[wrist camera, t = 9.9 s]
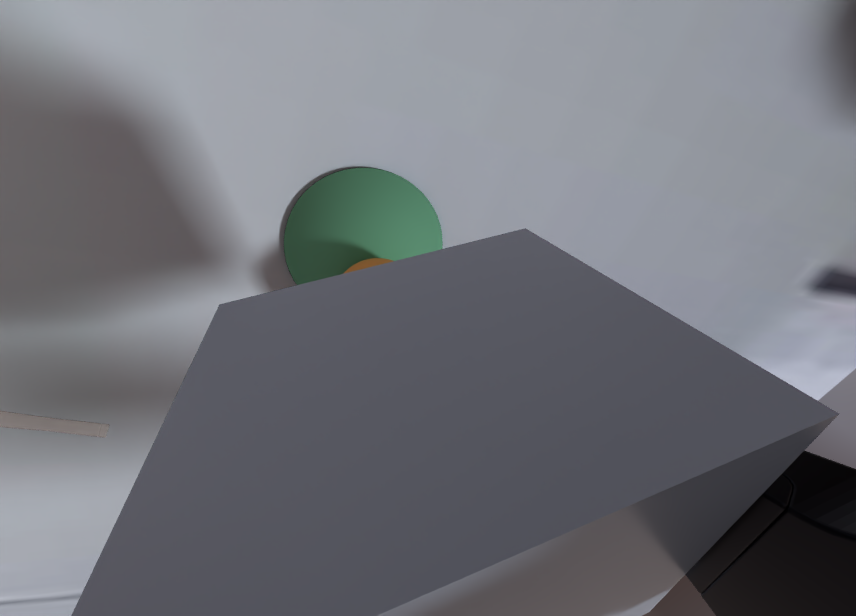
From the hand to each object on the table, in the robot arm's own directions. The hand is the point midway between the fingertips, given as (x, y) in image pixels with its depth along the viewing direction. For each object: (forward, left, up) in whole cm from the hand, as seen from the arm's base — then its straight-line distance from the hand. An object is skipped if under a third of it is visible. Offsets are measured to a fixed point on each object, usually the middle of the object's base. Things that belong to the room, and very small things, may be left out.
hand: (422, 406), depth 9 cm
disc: (0, 0, -12) cm, 12 cm away
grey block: (0, 0, -2) cm, 2 cm away
